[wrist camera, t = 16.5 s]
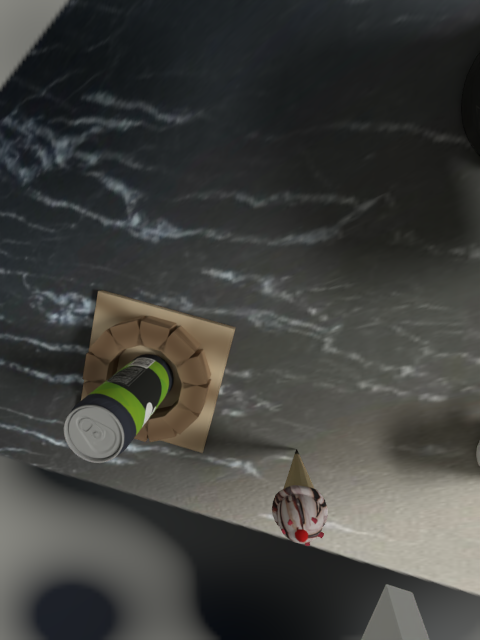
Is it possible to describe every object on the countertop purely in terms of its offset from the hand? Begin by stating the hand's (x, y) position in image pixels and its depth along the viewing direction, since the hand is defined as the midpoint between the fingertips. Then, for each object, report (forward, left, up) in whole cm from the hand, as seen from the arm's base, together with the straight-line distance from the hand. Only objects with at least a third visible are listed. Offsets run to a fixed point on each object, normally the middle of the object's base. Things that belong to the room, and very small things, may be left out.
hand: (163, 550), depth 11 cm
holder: (+11, -11, -35) cm, 38 cm away
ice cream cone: (+16, +10, -35) cm, 40 cm away
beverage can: (+11, -11, -34) cm, 37 cm away
